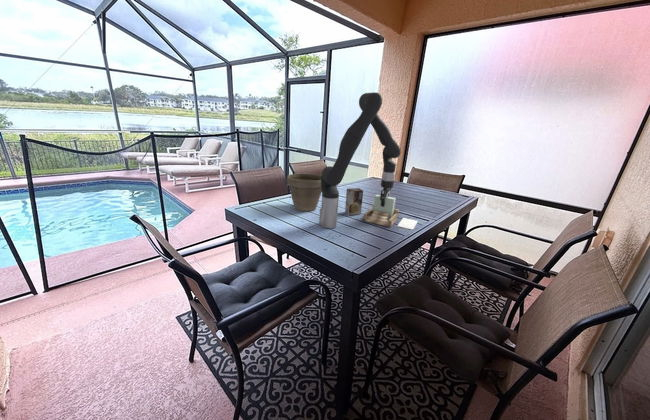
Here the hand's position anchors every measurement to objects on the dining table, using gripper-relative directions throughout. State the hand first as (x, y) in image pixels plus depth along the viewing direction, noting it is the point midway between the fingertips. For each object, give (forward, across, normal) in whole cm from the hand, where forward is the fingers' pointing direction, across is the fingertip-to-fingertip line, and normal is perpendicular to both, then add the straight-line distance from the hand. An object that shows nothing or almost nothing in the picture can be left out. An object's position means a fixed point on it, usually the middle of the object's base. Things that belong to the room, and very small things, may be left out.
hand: (384, 204), depth 157 cm
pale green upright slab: (+9, 0, 0) cm, 9 cm away
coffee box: (+9, +4, -19) cm, 21 cm away
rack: (+9, +4, 0) cm, 10 cm away
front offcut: (+9, +8, 0) cm, 12 cm away
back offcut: (+9, +5, 0) cm, 10 cm away
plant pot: (+9, +15, -49) cm, 52 cm away
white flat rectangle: (+9, +1, +16) cm, 18 cm away
